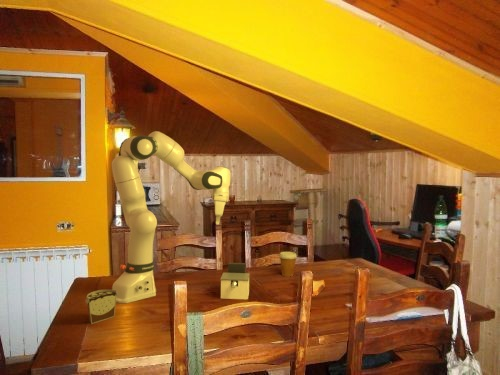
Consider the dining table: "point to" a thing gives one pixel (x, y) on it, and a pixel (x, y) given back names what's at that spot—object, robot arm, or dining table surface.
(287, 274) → the disposable coffee cup
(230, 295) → the block
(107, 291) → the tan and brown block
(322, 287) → the slice of bread
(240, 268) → the plunger
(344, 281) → the dining table surface
